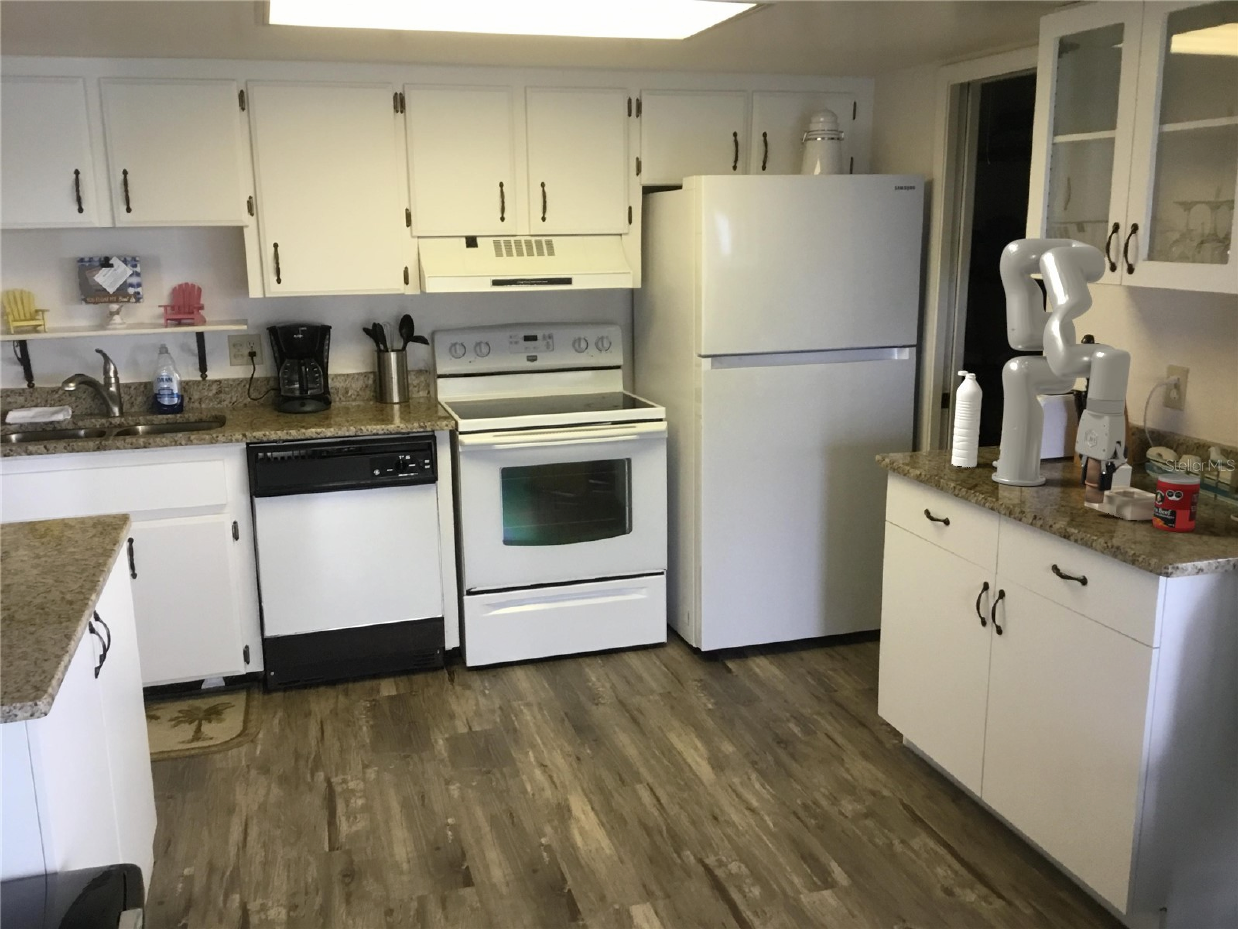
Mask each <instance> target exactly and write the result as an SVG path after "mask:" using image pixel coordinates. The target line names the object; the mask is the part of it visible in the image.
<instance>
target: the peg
mask: <svg viewBox="0 0 1238 929" xmlns="http://www.w3.org/2000/svg"><path fill="white" fill-rule="evenodd" d="M1108 465H1109V462H1107V466H1108ZM1099 473H1102V467H1101V460H1097V459H1094V458H1091V457H1089V460H1088V468H1087V476H1086V481H1085V484H1087V485H1085V495H1084V502H1085V501H1086V502H1088V503H1094V504H1101V503H1103V501H1104V493H1105V491H1098V489H1097V488H1098V479H1099Z"/></svg>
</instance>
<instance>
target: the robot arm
mask: <svg viewBox="0 0 1238 929" xmlns="http://www.w3.org/2000/svg"><path fill="white" fill-rule="evenodd" d="M1106 265H1107V264H1106V258H1105V256H1104V255H1103V252H1101V250H1100V249H1099V248H1098V247H1096V246H1094V245H1091V244H1088V243H1085V242H1082V241H1080V240H1077V239H1076V240H1075V239H1073V238H1039V237H1038V238H1035V237H1034V238H1022V239H1016V240H1013V241H1011V242H1009V243H1008V244H1006V246H1005V247H1004V248H1003V250H1002V253H1001V257H1000V262H999V271H1000V272H999V274H1000V277H1001V278H1000V279H1001V280H1002V286H1003V288H1004V292H1005V298H1006V300H1005V301H1006V303H1005V304H1006V323H1007V324H1006V326H1007V328H1006V330H1007V340H1008V344H1009V346H1010V347H1011V348H1012V349H1013V350H1017V351H1024V352H1026V351H1027V352H1028V351H1030V352H1031V351H1032V352H1033V351H1034V352H1036V351H1040V352H1041V351H1043V352H1044V354H1045V355H1025V356H1023V355H1022V356H1015V357H1013V358H1011V359H1010V360H1008V361H1006V362H1005V364H1004V366H1003V369H1002V374H1001V376H1002V387H1003V398H1004V399H1003V416H1002V417H1003V418H1002V427H1001V428H1002V430H1001V442H1000V453H999V459H997V460H994V461H993V462H992V466H994V467H995V468H997V469H996V471H995V472H993V473H992V474H991V479H992V480H993V482H994V481H995V482H996V483H1001V484H1004V485H1009V486H1019V487H1020V486H1021V487H1036V486H1041V485H1044V484H1045V483H1046V478H1045V477H1044V476H1043V475H1040V466H1041V454H1042V444H1043V436H1044V435H1043V434H1044V433H1043V432H1044V422H1045V411H1044V408H1043V406H1042V404H1041V403H1040V401H1039V399H1038V397H1037V396H1039V395H1062V394H1067V393H1069V392H1071V391H1072V390H1073V389H1074V387H1075V385H1076V382H1077V379H1084V378H1085V379H1089V380H1088V381H1089V382H1088V391H1087V398H1086V406H1085V408H1086V409H1083V412H1082V414H1081V417H1080V420H1079V423H1078V428H1077V434H1076V441H1075V445H1074V446H1075V447H1074V451H1075V452H1076V454H1077V455H1078V457H1079V460H1080V466H1081V467H1082V468H1081V469H1082V470H1081V478H1080V485H1082V486H1086V485H1087V484H1085V481H1086V476H1087V468H1088V460H1089V457H1091V458H1094V459H1097V460H1101V467H1102V473H1099V479H1098V488H1097V489H1098V491H1108V490H1111V487H1112V479H1113V473H1115V472H1116V470H1117V469H1118V468H1119V467H1121V466H1123V465H1125V463H1127V462H1126V461H1125V458H1124V456H1123V452H1124V445H1126V417H1125V416H1126V415H1125V407H1126V399H1127V398H1126V397H1127V390H1128V384H1129V383H1128V382H1129V377H1130V370H1131V369H1130V367H1131V354H1130V352H1129V351H1127V350H1124V349H1117V348H1115V347H1113V346H1111V345H1110V344H1105V343H1077V336H1076V335H1077V334H1076V327H1075V323H1074V321H1073V320H1075V319H1077V318H1079V317H1082V316H1083V315H1084V314H1086V313H1087V312H1088V311H1089V310H1090V309H1091V307H1092V305H1093V298H1092V295H1091V292H1090V290H1089V289H1090V288H1089V286H1088V284H1094V283H1097V282H1099V281H1100V280H1101V279H1102V278H1103V277H1104V275H1105V272H1106V267H1107V266H1106ZM1032 275H1041V277H1042V280H1043V284H1044V288H1045V290H1046V293H1047V297H1048V300H1049V302H1050V306H1051V309H1052V311H1045V309H1044V294H1043V290H1042V289H1041V287H1040V286H1039V284H1038V282H1037V281H1036V280H1035V279H1034V277H1032ZM1115 459H1116V460H1115ZM1107 462H1110V465H1108V466H1107Z"/></svg>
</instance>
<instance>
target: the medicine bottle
mask: <svg viewBox="0 0 1238 929" xmlns="http://www.w3.org/2000/svg"><path fill="white" fill-rule="evenodd" d="M1128 455H1129V447H1128V445H1127V444H1125V445H1124V452H1123V456H1124V458H1125V461H1126V463H1125V465H1123V466H1121V467H1119V468H1118V469H1117V470H1116V472H1115V473H1113V479H1112V486H1125V485H1126V486H1129V487H1131V483H1132V482H1131V481H1132V474H1133V467H1132V466H1131V465H1130V464H1128V463H1127V462H1128ZM1115 460H1116V459H1115ZM1109 465H1110V462H1109Z"/></svg>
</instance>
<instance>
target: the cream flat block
mask: <svg viewBox="0 0 1238 929" xmlns="http://www.w3.org/2000/svg"><path fill="white" fill-rule="evenodd" d="M1155 496H1156V493H1155V494H1154V493H1151V492H1149V491H1145V490H1142V489H1139V488H1135V487H1132V486H1130V487H1129V486H1126V485H1125V486H1112V487H1111V490H1108V491H1105V493H1104V501H1103V503H1101V504H1094V503H1088V502H1086V501H1085V500H1084V506H1085V507H1087V508H1091V509H1094V510H1097V511H1100V512H1101V513H1105V514H1108V513H1109V514H1108V515H1111V516H1113V515H1114V516H1113V517H1117V518H1119V517H1120V519H1122V518H1123V520H1125V521H1128V520H1137V521H1145V520H1146V521H1147V520H1153V514H1154V505H1155Z"/></svg>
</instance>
